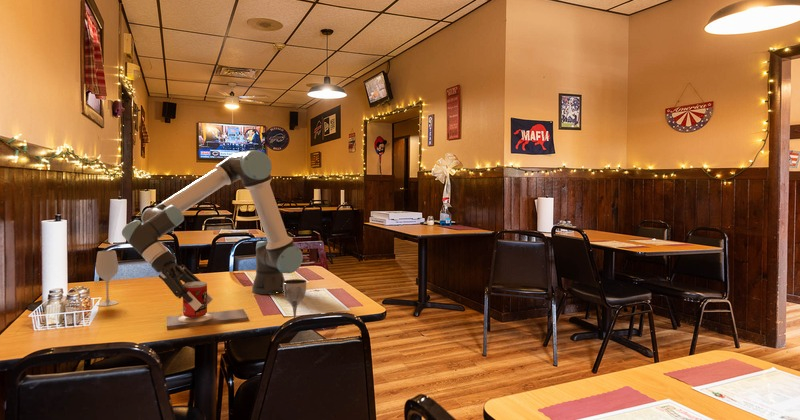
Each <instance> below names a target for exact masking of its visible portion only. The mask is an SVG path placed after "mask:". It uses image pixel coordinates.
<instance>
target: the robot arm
mask: <svg viewBox="0 0 800 420" xmlns="http://www.w3.org/2000/svg"><path fill="white" fill-rule="evenodd" d="M272 170H273V165H272V161H271V159H270V157H269V156H268V155H267V154H266V153H265V152H263V151H261V150H256V149H250V150H242V151H240V150H239V151H237V152H234V153H232V154H231V155H230V156H229V155H228V156H227V157H226V158H225V159H223V160H222V161H220V162H219V163H218V164H216V165H214V169H213V170H211V171H209V172H208V173H207V174H205V175H203V176H202V177H200V178H198V179H196V180H195V181H193V182H192V183H190V184H189V185H187V186H185V187H184V188H182V189H181V190H179V191H178V192H176V193H174V194H173V195H171V196H170V197H168V198H166V199H165V200H163V201H162V202H161V203H158V204H157V205H155V206H153V207H151V208H147V209H146V210H143V212H142V214H141V216H140V217H141V220H139V219H135V220H133V221H131V222H129V223H128V224H126V225H125V226H124V227H123V228H122V230H121V235H122V237H123V238H124V239H125V240H126V241H127V242H128V244H129V245H130V246H131V247H132V248H133V249H134V250H135V251H136V252H137V253H138V254H139V255H140V256H141V257H142V258H143V259H144V261H146V262H147V263H148V264H149V265H150V267H152V269H154V270H155V272H156V273H158V277H159V279H160V280H162V281H163V282H164V284H165V285H166V286H167V287H168V289H169V290H170V291H171V293H172V294H173V295H174V296H175V297H176V298H178V299H183V298H184V299H185V300H186V301H187V302H188V303H189V304H190V305H191V307H192V308H193V309H194V310H195V311H196V310H198V309H199V308H200V307H201V306H202V304H201V303H200V302H199V301H198V300H197V299H196V298H195V297H194V296H193V295H192V294H191V293H190V292H187V291H186V289H185V287H184V286H183V284H184V283H187V282H196V281H200V282H202V281H201V279H199V278H198V277H197V276H196V275H195V274H193V272H191V271H190V270H189V269H188V267H186V266H185V264H181V265H179V264H177V263H176V261H177V258H176V256H175V255H173V253H172V252H171V251H169V249H168V248H167V247H166V246H165V245H164V244H163V243H162V242H161V241H160V240H159V239H160V238H162V237H163V236H165V235H166V234H168V233H169V232H170V231H172V230H174V229H175V228H176V227H179V225H180V224H182V223H183V222H184V221H185V215H184V214H183V213H185V212H186V211H187V210H189V209H190V208H192V207H194V206H195V205H196V204H198V203H200V202H201V201H203V200H204V199H206V198H208V197H209V196H211V194H213V193H215V192H216V191H218V190H219V189H221V188H222V187H224V186H226V185H227V186H230V185H231V184H233V183H235V182H237V181H240V180H241V183H242V186H243V188H245V189H247V190H248V191H249V193H250V197H251V199H252V202H253V205H254V207H255V210H256V212H257V216H258V218H259V221H260V224H261V226H262V229H263V232H264V236H265V238H266V240H263V241H262V240H261V241H258V242H256V246H255V277H254V279H253V283H252V285H251V292H252V293H253V292H254V294H257V293H259V294H258V295H269V294H268V293H276V292H282V291H283V281H285V280H286V279H285V277H284V274H293V273H295V272H296V271H298V270H299V269H300V267H301V265H302V263H303V260H304V256H303V252H302V251H301V249H300V248H299V247H298V246H296V245H295V242H294V239H293V237H291V236H289V235H288V233H287V229H286V227H285V224H284V221H283V219H282V215H281V212H280V210H279V206H278V204H277V201H276V199H275V198H276V197H275V196H274V192H273V189H272V186H271V182H272V180H273V178H272V175H271V172H272ZM186 292H187V293H186ZM282 293H283V292H282ZM213 300H214V298H213V297H212V296H211V295H210V293H208V292H207V306H208V305H209V304H211V302H212V301H213Z"/></svg>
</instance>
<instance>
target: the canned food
mask: <svg viewBox="0 0 800 420" xmlns="http://www.w3.org/2000/svg"><path fill="white" fill-rule="evenodd" d="M200 281H201V280H200ZM200 281H196V282H187V283H184V282H183V283H182V284H183V286H184V287H185V289H186V291H187V292H190V293H191V294H192V295H193V296H194V297H195V298H196V299H197V300H198V301H199V302H200V303H201V304H202V306H201V307H200V308H199V309H198V310H196V311H195V310H194V309H193V308H192V307H191V305H190V304H189V303H188V302H187V301H186V300H185V299H184V298H183V297H182V315H184V316H185V317H201V316H204V315H206V313H208V305H207V293H208V282H205V281H201V282H200ZM187 292H186V293H187Z"/></svg>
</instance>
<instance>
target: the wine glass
mask: <svg viewBox="0 0 800 420" xmlns="http://www.w3.org/2000/svg"><path fill="white" fill-rule="evenodd" d="M283 291H284V292H283V295H284V298H285V300H286V301H287V302H288V303H289V304H290V306H291V307H292V312H293V319H294V318H295V317H296V318H297V308H298V306H299V305H300V303H301V302H302V301H303V300H304V299H305V296H306V292H307V280H306V279H302V278H300V279H299V278H291V279H285V281H283Z"/></svg>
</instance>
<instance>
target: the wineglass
mask: <svg viewBox="0 0 800 420" xmlns="http://www.w3.org/2000/svg"><path fill="white" fill-rule="evenodd" d="M117 256H118V255H117V252H116V250H111V249H110V250H109V249H108V250H99V251H97V254H96V260H95V261H96V262H95V273H96V274H97V276H98V277H99V279H100V278H101V279H102V280H103V281H105V288H106V294H105V295H106V299H105V300H104V301H102V302H99V306H98V307H110V306H115V304H116V305H117V304H119V301H116V300H110V298H109V297H110V296H109V295H110V294H109V292H110V291H109V283H110V280H112V279H113V278H114V277H115V276H116V275H117V274H118V271H119V262H118V257H117Z"/></svg>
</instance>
